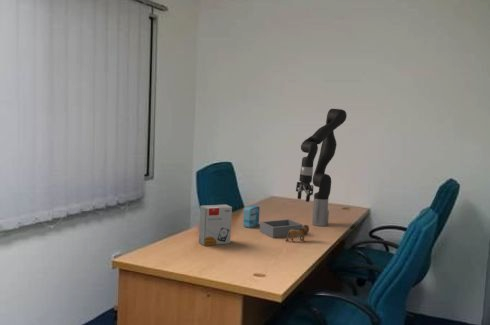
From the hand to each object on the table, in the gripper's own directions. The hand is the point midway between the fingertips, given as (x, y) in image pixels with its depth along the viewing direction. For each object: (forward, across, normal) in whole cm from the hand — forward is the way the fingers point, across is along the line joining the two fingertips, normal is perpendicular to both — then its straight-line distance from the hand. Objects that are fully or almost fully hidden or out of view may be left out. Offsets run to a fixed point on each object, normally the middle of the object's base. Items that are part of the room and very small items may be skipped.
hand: (303, 200), depth 283 cm
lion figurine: (+19, -22, +17) cm, 34 cm away
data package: (+20, +16, +25) cm, 36 cm away
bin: (+19, -5, +17) cm, 26 cm away
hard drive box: (+22, -9, +62) cm, 67 cm away
